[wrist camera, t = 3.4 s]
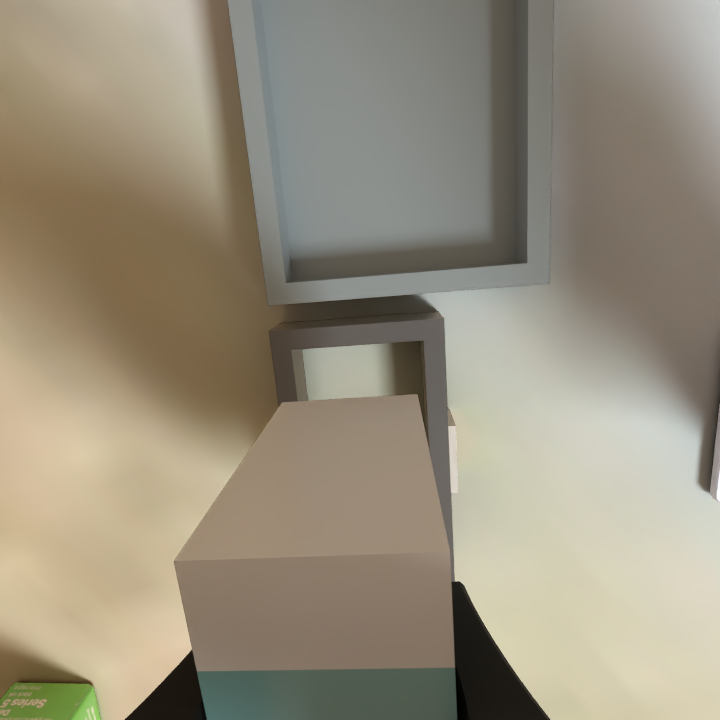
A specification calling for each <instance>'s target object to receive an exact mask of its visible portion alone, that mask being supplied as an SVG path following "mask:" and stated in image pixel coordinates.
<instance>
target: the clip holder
mask: <svg viewBox="0 0 720 720" xmlns="http://www.w3.org/2000/svg"><path fill="white" fill-rule="evenodd" d="M269 336H270V343H271V351H272V358H273V366H274V373H275V381H276V388H277V396H278V403H279V406H280V405H281V403H282V402H297V401H308V397H307V389H306V380H305V372H304V363H303V355H302V349H310V348H324V347H338V346H352V345H366V344H380V343H394V342H408V341H421V357H422V376H423V394H424V413H425V432H426V438H427V442H428V447H429V452H430V457H431V462H432V467H433V471H434V476H435V481H436V486H437V491H438V496H439V500H440V505H441V510H442V515H443V520H444V525H445V529H446V534H447V539H448V544H449V549H450V561H451V582H455V579H454V554H453V530H452V505H451V493H458V472H457V445H456V425H455V423H454V420H453V417H452V415H451V412H450V410H449V409H448V407H447V382H446V358H445V333H444V318H443V317H442V315H441V314H440V313H439V312H438V311H434V312H421V313H408V314H395V315H381V316H368V317H355V318H342V319H328V320H315V321H302V322H289V323H280V324H279V325H277V326H276V327H274V328H273V329H271V330H270V331H269Z"/></svg>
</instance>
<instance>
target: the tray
mask: <svg viewBox="0 0 720 720" xmlns="http://www.w3.org/2000/svg"><path fill="white" fill-rule="evenodd" d="M228 7H229V15H230V23H231V30H232V38H233V45H234V53H235V60H236V68H237V75H238V83H239V90H240V98H241V106H242V113H243V121H244V128H245V136H246V143H247V151H248V158H249V166H250V174H251V181H252V189H253V196H254V204H255V211H256V219H257V226H258V234H259V241H260V249H261V257H262V264H263V272H264V279H265V287H266V294H267V302H268V306H271V305H284V304H296V303H309V302H322V301H334V300H347V299H360V298H373V297H385V296H398V295H411V294H423V293H436V292H449V291H462V290H474V289H487V288H500V287H512V286H525V285H538V284H550V216H551V148H552V80H553V13H554V0H228Z"/></svg>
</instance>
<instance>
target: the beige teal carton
mask: <svg viewBox="0 0 720 720" xmlns="http://www.w3.org/2000/svg"><path fill="white" fill-rule="evenodd" d="M174 565H175V570H176V575H177V579H178V584H179V589H180V594H181V598H182V603H183V608H184V613H185V617H186V622H187V627H188V632H189V636H190V641H191V646H192V651H193V656H194V660H195V665H196V670H197V675H198V679H199V684H200V689H201V694H202V698H203V703H204V708H205V713H206V717H207V720H457V702H456V679H455V655H454V632H453V608H452V585H451V561H450V549H449V544H448V539H447V534H446V529H445V525H444V520H443V515H442V510H441V505H440V500H439V496H438V491H437V486H436V481H435V476H434V471H433V467H432V462H431V457H430V452H429V447H428V442H427V438H426V433H425V428H424V423H423V418H422V413H421V409H420V404H419V399H418V394H410V395H394V396H378V397H362V398H345V399H329V400H313V401H297V402H282V403H281V405H280V406H279V408H278V409H277V411H276V412H275V413H274V415H273V416H272V418H271V419H270V421H269V422H268V424H267V425H266V427H265V428H264V430H263V431H262V432H261V434H260V435H259V437H258V438H257V440H256V441H255V443H254V444H253V446H252V447H251V449H250V450H249V452H248V453H247V454H246V456H245V457H244V459H243V460H242V462H241V463H240V465H239V466H238V468H237V469H236V471H235V472H234V474H233V475H232V476H231V478H230V479H229V481H228V482H227V484H226V485H225V487H224V488H223V490H222V491H221V493H220V494H219V496H218V497H217V498H216V500H215V501H214V503H213V504H212V506H211V507H210V509H209V510H208V512H207V513H206V515H205V516H204V518H203V519H202V520H201V522H200V523H199V525H198V526H197V528H196V529H195V531H194V532H193V534H192V535H191V537H190V538H189V539H188V541H187V542H186V544H185V545H184V547H183V548H182V550H181V551H180V553H179V554H178V556H177V557H176V559H175V560H174Z"/></svg>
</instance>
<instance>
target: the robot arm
mask: <svg viewBox="0 0 720 720" xmlns="http://www.w3.org/2000/svg"><path fill="white" fill-rule="evenodd" d="M710 494H711V496H712V497H713V498H714V499H715V500H716V501H718V502H719V503H720V405H719V414H718V423H717V432H716V441H715V450H714V460H713V469H712V478H711V487H710ZM451 585H452V608H453V632H454V655H455V679H456V702H457V720H550V719H549V717H548V716H547V715H546V713H545V712H544V711H543V710H542V708H541V707H540V706H539V704H538V703H537V702H536V701H535V699H534V698H533V697H532V695H531V694H530V692H529V691H528V690H527V688H526V687H525V686H524V684H523V683H522V682H521V680H520V679H519V677H518V676H517V675H516V673H515V672H514V670H513V669H512V667H511V666H510V664H509V663H508V661H507V660H506V658H505V657H504V655H503V654H502V652H501V651H500V649H499V648H498V646H497V645H496V643H495V641H494V640H493V638H492V637H491V635H490V633H489V632H488V630H487V629H486V627H485V625H484V623H483V622H482V620H481V618H480V616H479V615H478V613H477V611H476V609H475V607H474V605H473V603H472V602H471V600H470V597H469V595H468V593H467V591H466V589H465V586H464V585H463V584H462V583H461V582H451ZM125 720H207V717H206V713H205V708H204V703H203V698H202V694H201V689H200V684H199V679H198V675H197V670H196V665H195V660H194V656H193V651H192V650H191V651H190V652H189V654H188V655H187V656H186V657H185V658H184V659H183V660H182V662H181V663H180V664H179V665H178V666H177V667H176V668H175V669H174V670H173V671H172V672H171V673H170V674H169V675H168V676H167V678H166V679H165V680H164V681H163V682H162V683H161V684H160V685H159V686H158V687H157V688H156V689H155V690H154V691H153V692H152V693H151V694H150V695H149V696H148V697H147V698H146V699H145V700H144V701H143V702H142V703H141V704H140V705H139V706H138V707H137V708H136V709H135V710H134V711H133V712H132V713H131V714H130V715H129V716H128V717H127V718H126V719H125Z"/></svg>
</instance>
